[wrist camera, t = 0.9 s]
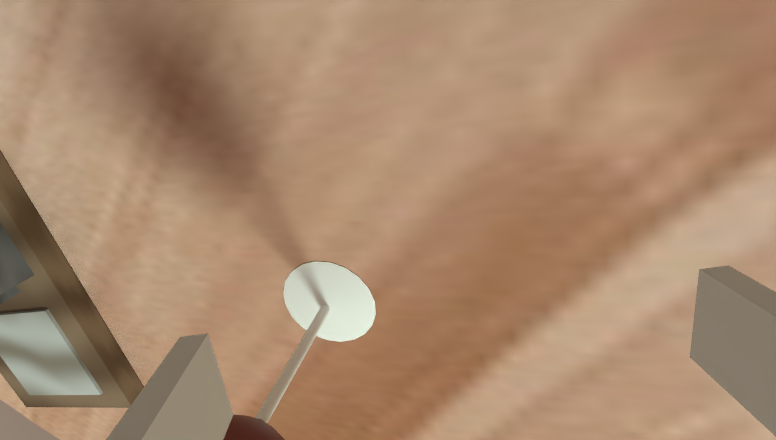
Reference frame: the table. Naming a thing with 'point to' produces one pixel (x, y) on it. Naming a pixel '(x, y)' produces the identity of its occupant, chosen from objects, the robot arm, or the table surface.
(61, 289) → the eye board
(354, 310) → the wineglass
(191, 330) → the table surface
